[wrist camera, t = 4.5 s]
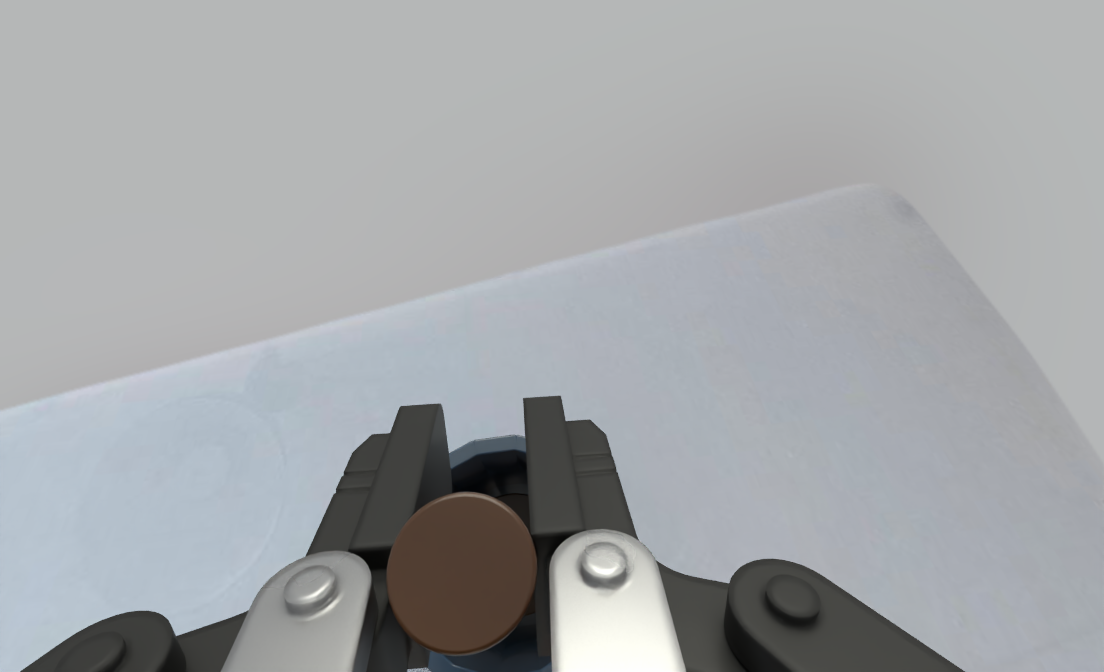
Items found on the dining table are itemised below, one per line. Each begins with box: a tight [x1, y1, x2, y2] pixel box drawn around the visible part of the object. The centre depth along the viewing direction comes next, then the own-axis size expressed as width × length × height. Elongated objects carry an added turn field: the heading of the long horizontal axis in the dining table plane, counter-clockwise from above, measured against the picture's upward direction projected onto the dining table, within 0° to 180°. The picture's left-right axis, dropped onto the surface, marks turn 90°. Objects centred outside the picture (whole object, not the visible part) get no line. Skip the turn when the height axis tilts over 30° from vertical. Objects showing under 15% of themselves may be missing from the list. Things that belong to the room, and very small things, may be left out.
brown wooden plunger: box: [386, 492, 537, 656], centre depth 15 cm, size 5×5×20 cm
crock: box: [427, 435, 552, 672], centre depth 20 cm, size 7×7×10 cm
